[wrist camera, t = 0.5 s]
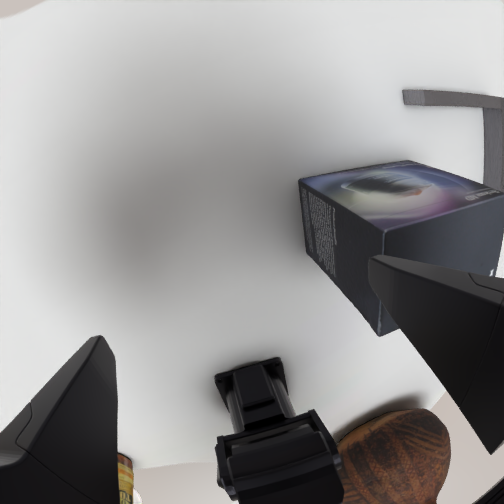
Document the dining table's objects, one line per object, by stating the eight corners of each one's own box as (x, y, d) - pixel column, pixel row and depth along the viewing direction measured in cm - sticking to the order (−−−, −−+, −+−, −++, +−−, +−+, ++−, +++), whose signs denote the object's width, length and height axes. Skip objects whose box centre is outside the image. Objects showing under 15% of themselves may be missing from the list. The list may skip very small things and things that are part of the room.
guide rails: (481, 243, 29) (496, 251, 26) (405, 276, 27) (420, 289, 25) (487, 95, 21) (505, 98, 19) (402, 89, 19) (423, 90, 17)
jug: (287, 471, 41) (344, 610, 15) (363, 394, 35) (470, 570, 8) (373, 457, 49) (430, 559, 23) (441, 388, 42) (525, 500, 16)
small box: (410, 154, 22) (513, 189, 13) (410, 225, 25) (496, 281, 15) (295, 174, 20) (386, 227, 11) (305, 256, 23) (378, 344, 14)
